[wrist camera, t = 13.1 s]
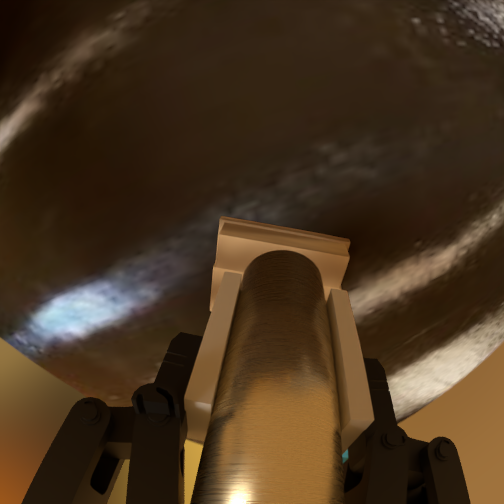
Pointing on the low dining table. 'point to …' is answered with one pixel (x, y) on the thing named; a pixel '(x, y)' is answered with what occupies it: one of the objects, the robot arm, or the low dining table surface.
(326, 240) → the dock
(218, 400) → the tan rounded cylinder
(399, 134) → the low dining table surface
